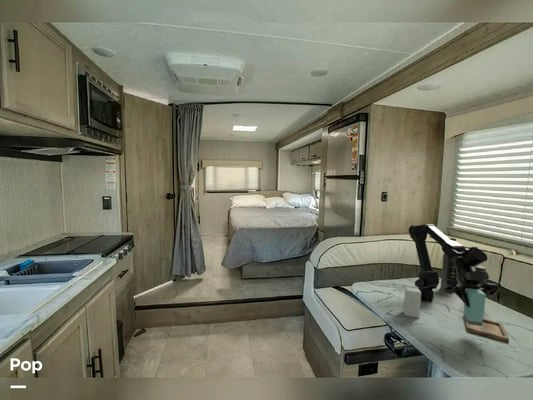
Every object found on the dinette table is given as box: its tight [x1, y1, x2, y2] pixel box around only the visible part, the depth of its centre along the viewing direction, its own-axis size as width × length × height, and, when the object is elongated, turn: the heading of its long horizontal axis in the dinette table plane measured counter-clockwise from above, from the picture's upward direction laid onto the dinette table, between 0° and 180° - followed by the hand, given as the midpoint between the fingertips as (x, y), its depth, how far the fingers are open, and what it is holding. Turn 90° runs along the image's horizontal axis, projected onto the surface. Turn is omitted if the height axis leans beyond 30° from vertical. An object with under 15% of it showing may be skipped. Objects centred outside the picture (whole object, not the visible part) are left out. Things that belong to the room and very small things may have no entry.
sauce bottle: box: [474, 265, 487, 286], centre depth 130 cm, size 7×6×20 cm
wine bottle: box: [440, 237, 459, 293], centre depth 145 cm, size 6×6×30 cm
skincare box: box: [403, 286, 422, 319], centre depth 119 cm, size 6×4×12 cm
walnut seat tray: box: [463, 318, 510, 343], centre depth 110 cm, size 13×13×2 cm
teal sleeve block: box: [462, 288, 487, 326], centre depth 103 cm, size 4×4×13 cm
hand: (476, 308), depth 102 cm, fingers closed on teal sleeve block, 4 cm apart
